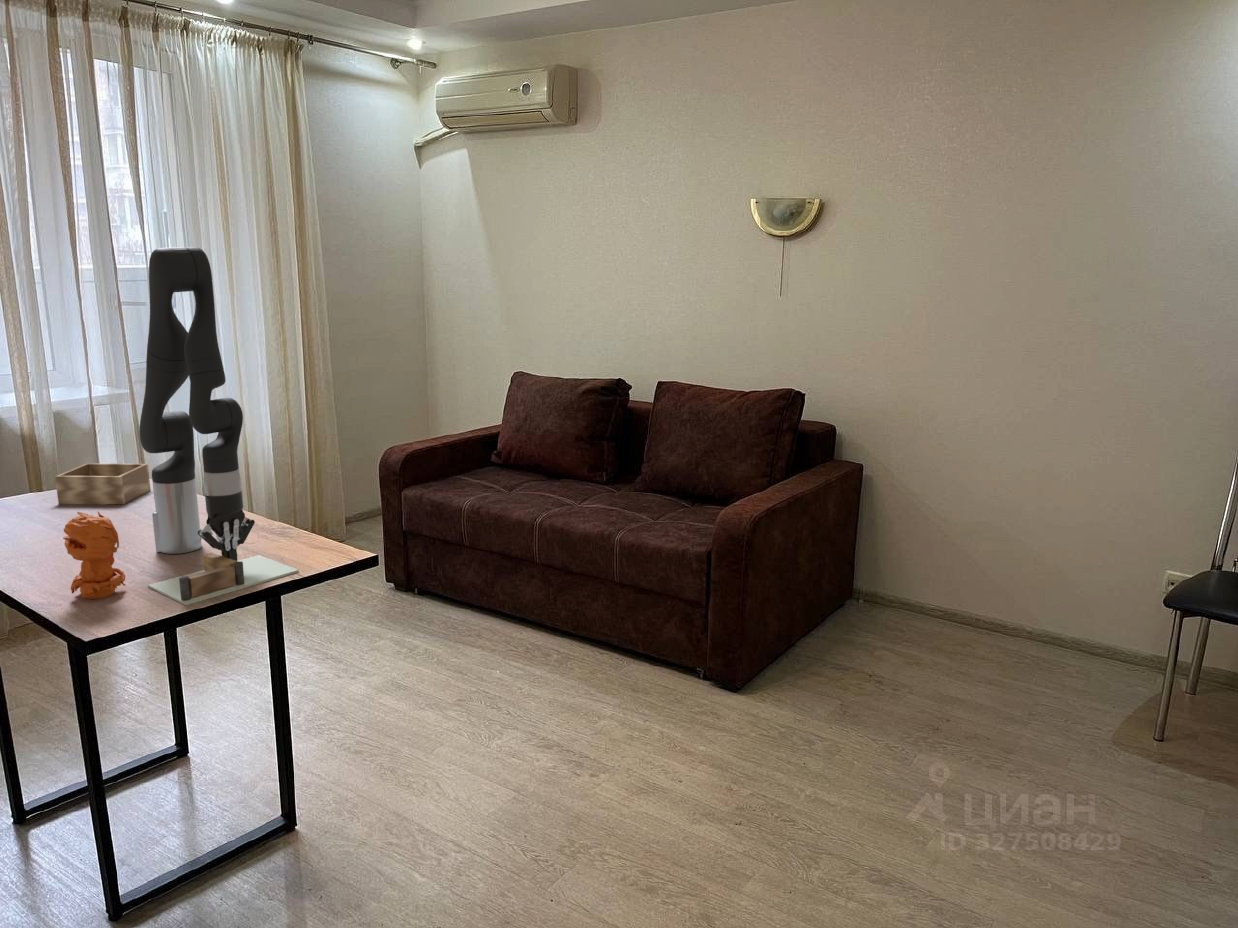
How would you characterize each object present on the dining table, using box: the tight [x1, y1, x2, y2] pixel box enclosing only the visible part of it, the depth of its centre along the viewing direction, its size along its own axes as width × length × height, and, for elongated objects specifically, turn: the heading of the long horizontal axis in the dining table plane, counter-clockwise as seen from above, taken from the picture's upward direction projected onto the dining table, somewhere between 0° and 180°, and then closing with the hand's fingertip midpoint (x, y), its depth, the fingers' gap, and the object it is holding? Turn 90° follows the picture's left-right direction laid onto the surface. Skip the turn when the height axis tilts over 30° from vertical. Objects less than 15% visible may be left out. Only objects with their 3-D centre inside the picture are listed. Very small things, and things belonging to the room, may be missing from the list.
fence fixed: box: [179, 560, 244, 601], centre depth 194 cm, size 14×2×5 cm, turn 142°
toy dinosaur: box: [62, 511, 126, 600], centre depth 192 cm, size 11×11×18 cm
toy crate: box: [54, 462, 152, 505], centre depth 266 cm, size 18×16×8 cm
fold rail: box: [202, 552, 239, 571], centre depth 202 cm, size 10×2×4 cm, turn 55°
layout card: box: [147, 554, 300, 606], centre depth 203 cm, size 26×16×1 cm, turn 142°
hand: (230, 564), depth 206 cm, fingers closed
